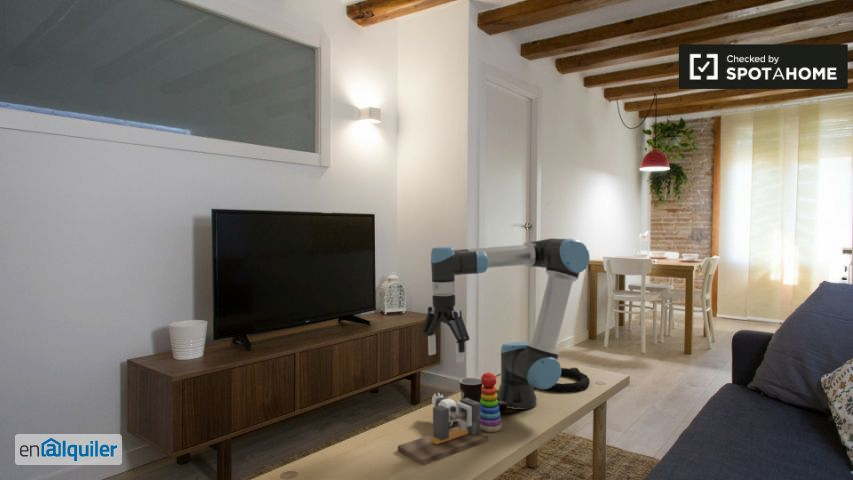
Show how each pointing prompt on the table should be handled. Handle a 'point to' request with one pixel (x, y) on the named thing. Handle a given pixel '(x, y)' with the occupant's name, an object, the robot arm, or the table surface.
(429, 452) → the board
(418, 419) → the table surface
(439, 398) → the giant panda
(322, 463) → the table surface
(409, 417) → the table surface
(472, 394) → the coffee mug
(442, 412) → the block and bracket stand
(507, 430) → the table surface
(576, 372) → the cable lock
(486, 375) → the stacking toy
